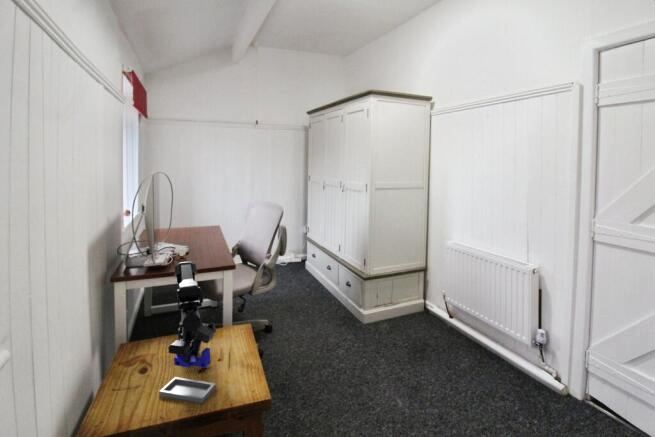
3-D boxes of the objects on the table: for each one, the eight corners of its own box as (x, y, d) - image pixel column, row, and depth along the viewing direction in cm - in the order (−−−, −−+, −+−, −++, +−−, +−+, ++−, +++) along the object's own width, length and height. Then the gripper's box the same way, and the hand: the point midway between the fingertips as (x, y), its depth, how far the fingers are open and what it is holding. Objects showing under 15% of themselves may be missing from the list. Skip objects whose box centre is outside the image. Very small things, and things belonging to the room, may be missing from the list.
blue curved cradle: (174, 365, 133) (173, 349, 132) (182, 358, 137) (181, 343, 136) (203, 370, 130) (202, 354, 129) (210, 363, 134) (209, 348, 133)
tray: (159, 396, 130) (159, 391, 130) (175, 381, 139) (174, 376, 139) (202, 404, 127) (202, 398, 126) (215, 388, 135) (215, 383, 135)
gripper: (196, 333, 120) (198, 377, 123) (223, 311, 138) (225, 349, 141) (166, 329, 123) (168, 373, 125) (196, 308, 141) (198, 346, 143)
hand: (192, 359), depth 133 cm, fingers closed on blue curved cradle, 5 cm apart
